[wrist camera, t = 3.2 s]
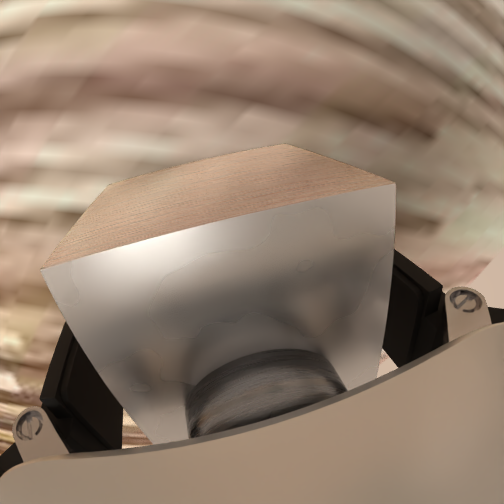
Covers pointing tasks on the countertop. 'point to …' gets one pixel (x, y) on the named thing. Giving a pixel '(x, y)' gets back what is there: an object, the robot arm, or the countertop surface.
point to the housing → (230, 287)
